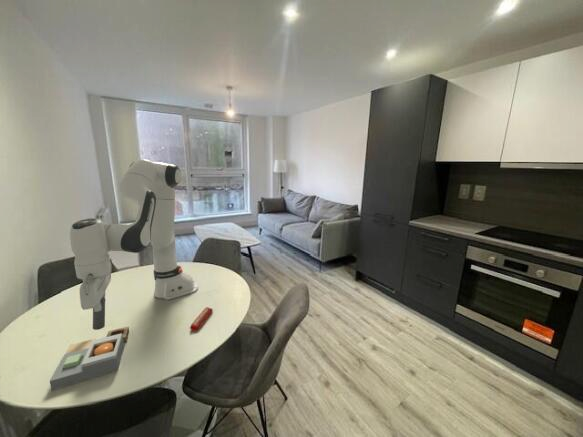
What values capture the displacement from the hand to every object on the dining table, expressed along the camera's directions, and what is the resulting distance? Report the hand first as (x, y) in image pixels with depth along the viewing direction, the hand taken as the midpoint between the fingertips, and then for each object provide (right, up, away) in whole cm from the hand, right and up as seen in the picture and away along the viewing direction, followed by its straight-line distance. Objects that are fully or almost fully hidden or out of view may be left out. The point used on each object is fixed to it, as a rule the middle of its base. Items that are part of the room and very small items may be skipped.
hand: (100, 306), depth 80 cm
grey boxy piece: (-5, -22, +2) cm, 22 cm away
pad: (-15, -20, +9) cm, 27 cm away
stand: (-5, -19, +15) cm, 25 cm away
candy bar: (+24, -17, +28) cm, 41 cm away
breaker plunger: (-1, -19, +4) cm, 19 cm away
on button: (-9, -20, 0) cm, 22 cm away
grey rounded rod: (-1, -7, +1) cm, 8 cm away
